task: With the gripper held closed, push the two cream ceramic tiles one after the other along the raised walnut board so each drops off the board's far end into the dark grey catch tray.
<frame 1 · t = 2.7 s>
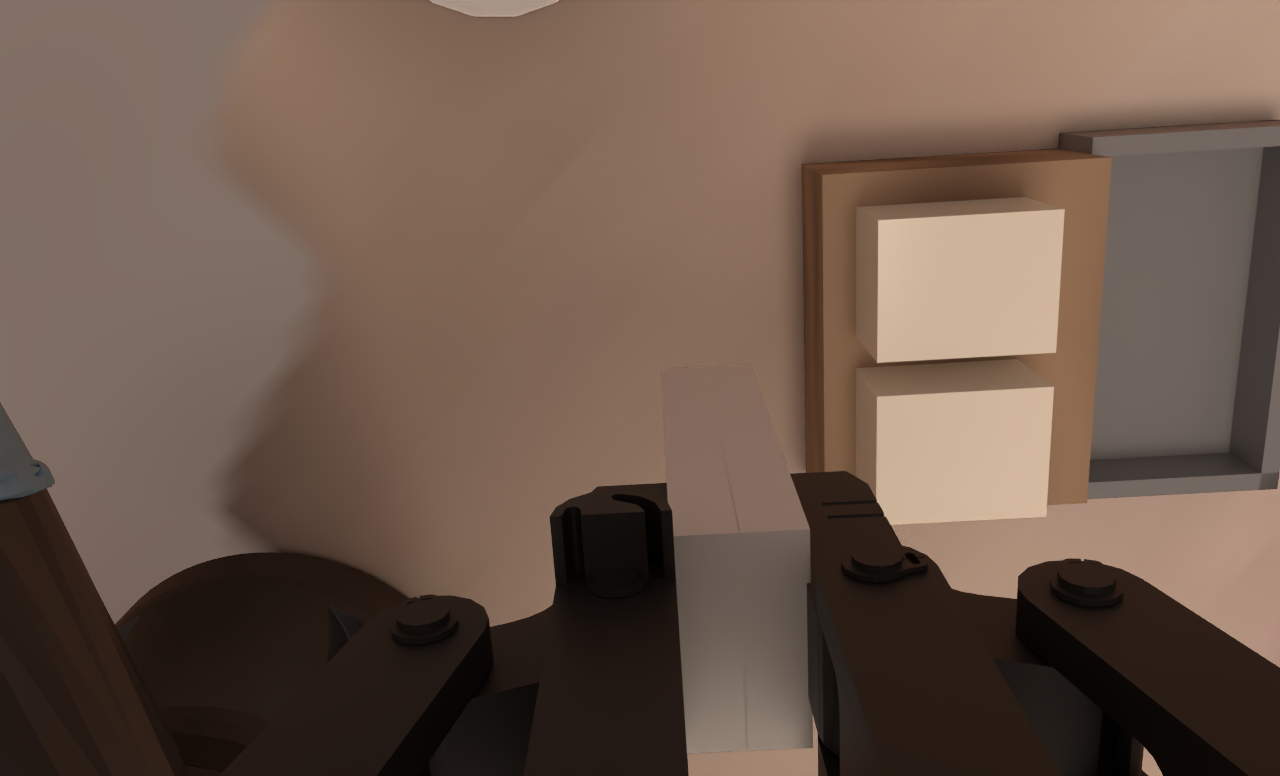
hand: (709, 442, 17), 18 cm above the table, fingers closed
tray: (1151, 304, 35), on the table
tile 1: (938, 268, 31), point 4 cm above the table, touching board
board: (926, 317, 35), on the table
tile 2: (934, 424, 32), point 4 cm above the table, touching board
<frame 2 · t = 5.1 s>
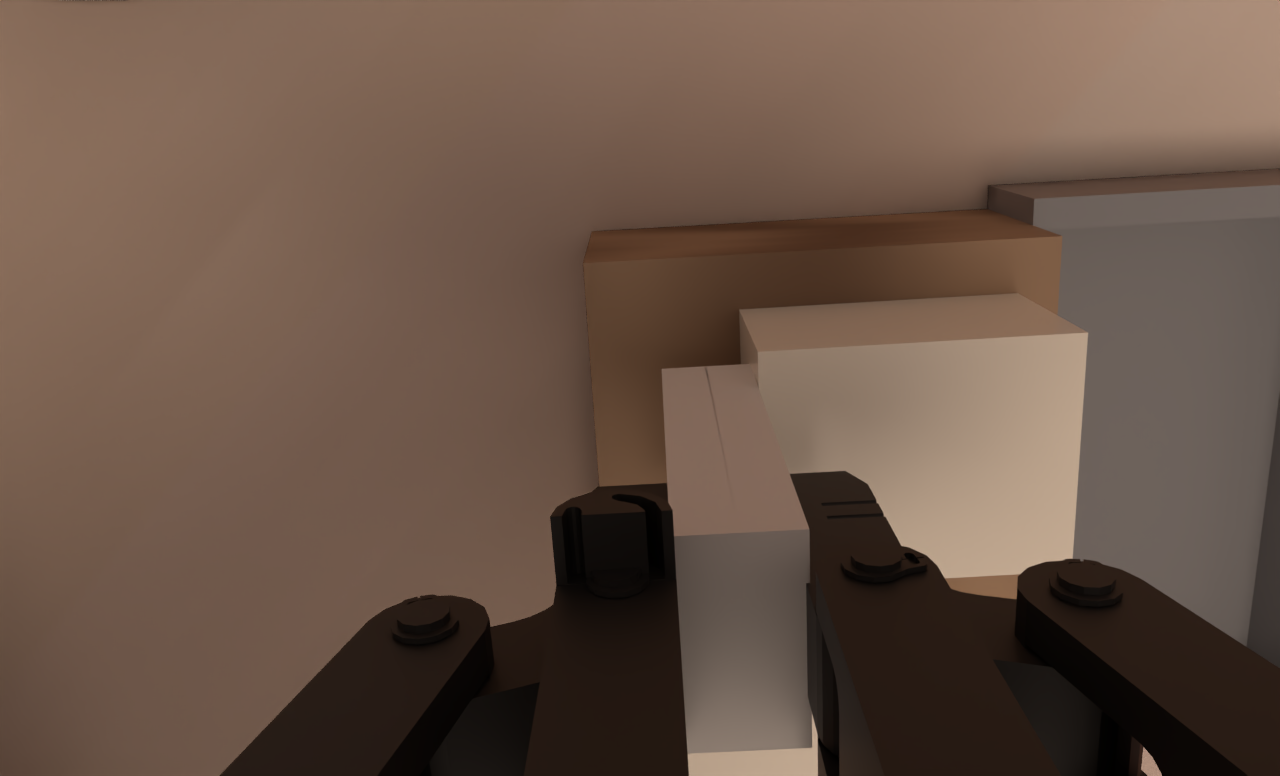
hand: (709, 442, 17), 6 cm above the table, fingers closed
tray: (1130, 441, 23), on the table
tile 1: (877, 407, 19), point 4 cm above the table
board: (792, 459, 23), on the table
tile 2: (786, 649, 20), point 4 cm above the table, touching board
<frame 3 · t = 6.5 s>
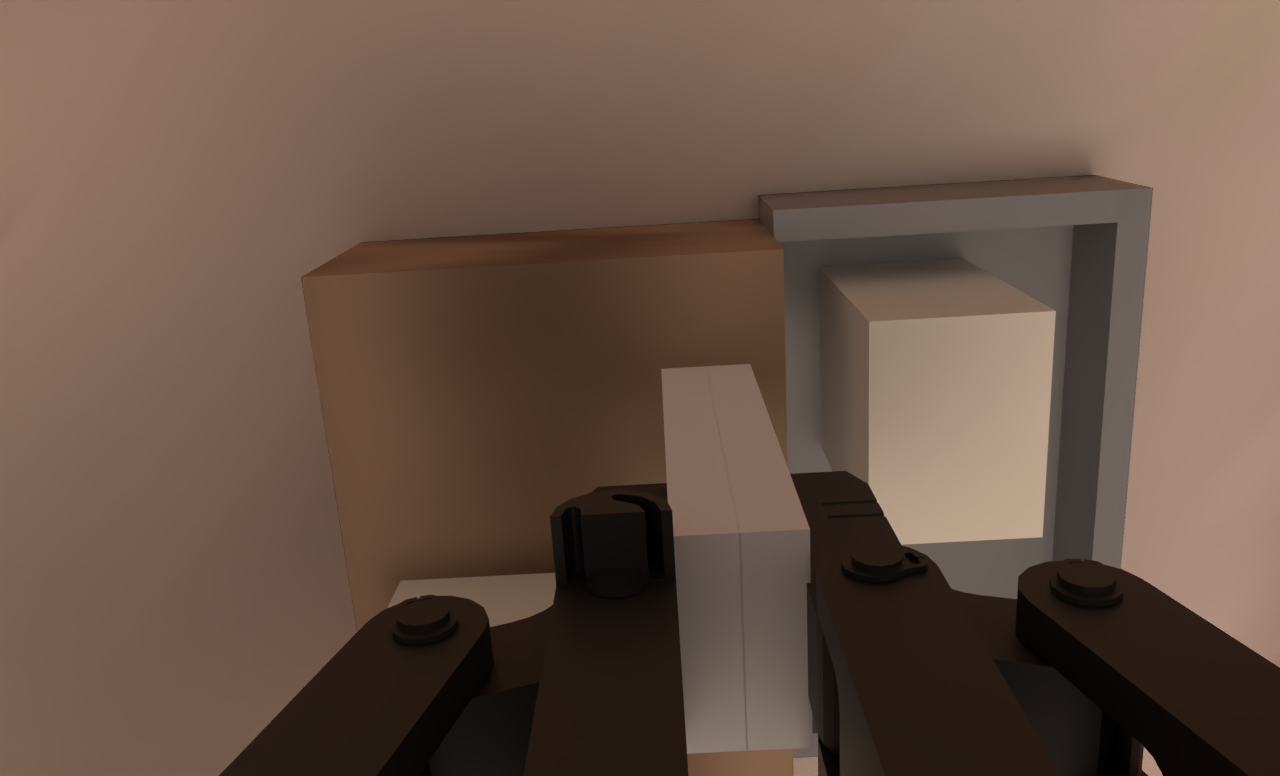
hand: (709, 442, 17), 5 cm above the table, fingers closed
tray: (919, 453, 23), on the table
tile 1: (841, 393, 19), point 3 cm above the table, tilted 90°, touching tray
board: (579, 471, 23), on the table
tile 2: (538, 665, 20), point 4 cm above the table, touching board
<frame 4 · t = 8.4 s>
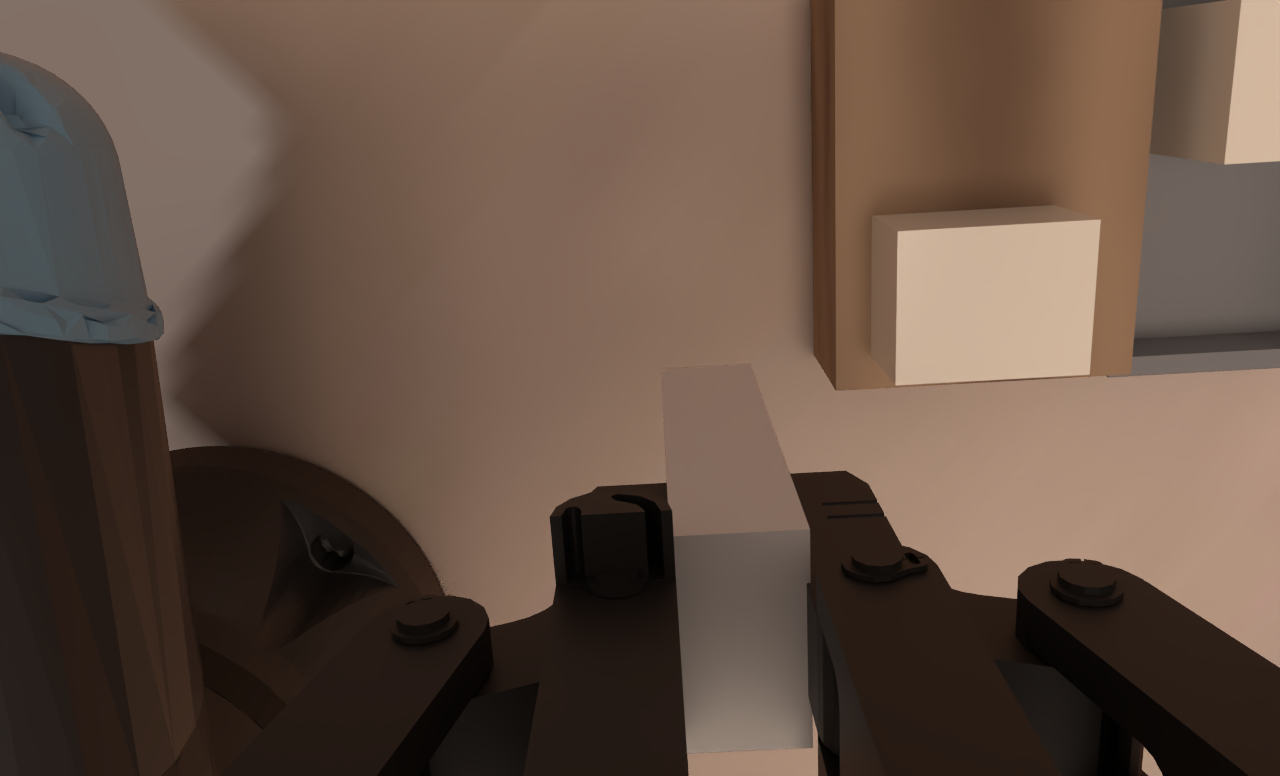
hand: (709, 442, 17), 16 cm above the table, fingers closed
tray: (1200, 162, 32), on the table
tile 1: (1182, 82, 28), point 3 cm above the table, tilted 90°, touching tray
board: (949, 176, 32), on the table
tile 2: (960, 281, 29), point 4 cm above the table, touching board
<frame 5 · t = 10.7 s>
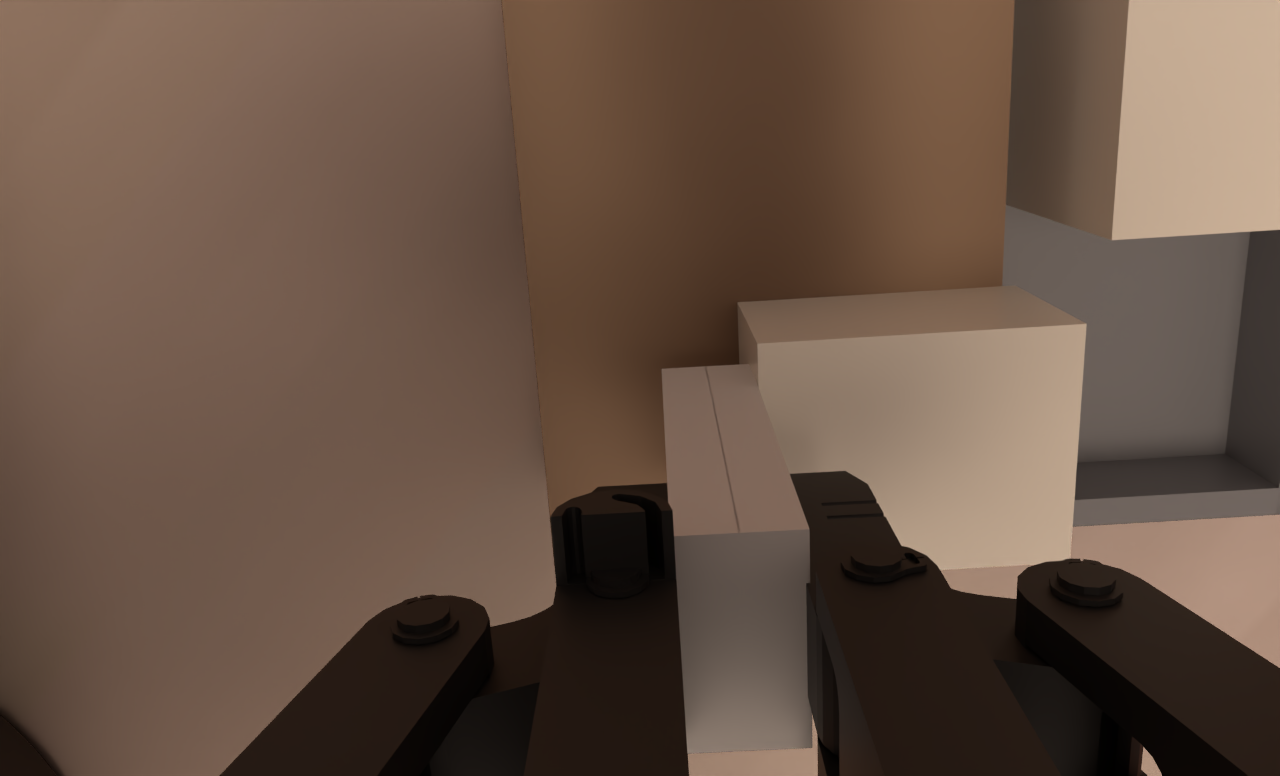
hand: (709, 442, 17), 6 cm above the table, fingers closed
tray: (1101, 217, 22), on the table
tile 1: (1056, 108, 18), point 3 cm above the table, tilted 90°, touching tray
board: (742, 239, 22), on the table
tile 2: (875, 399, 19), point 4 cm above the table, touching board, gripper
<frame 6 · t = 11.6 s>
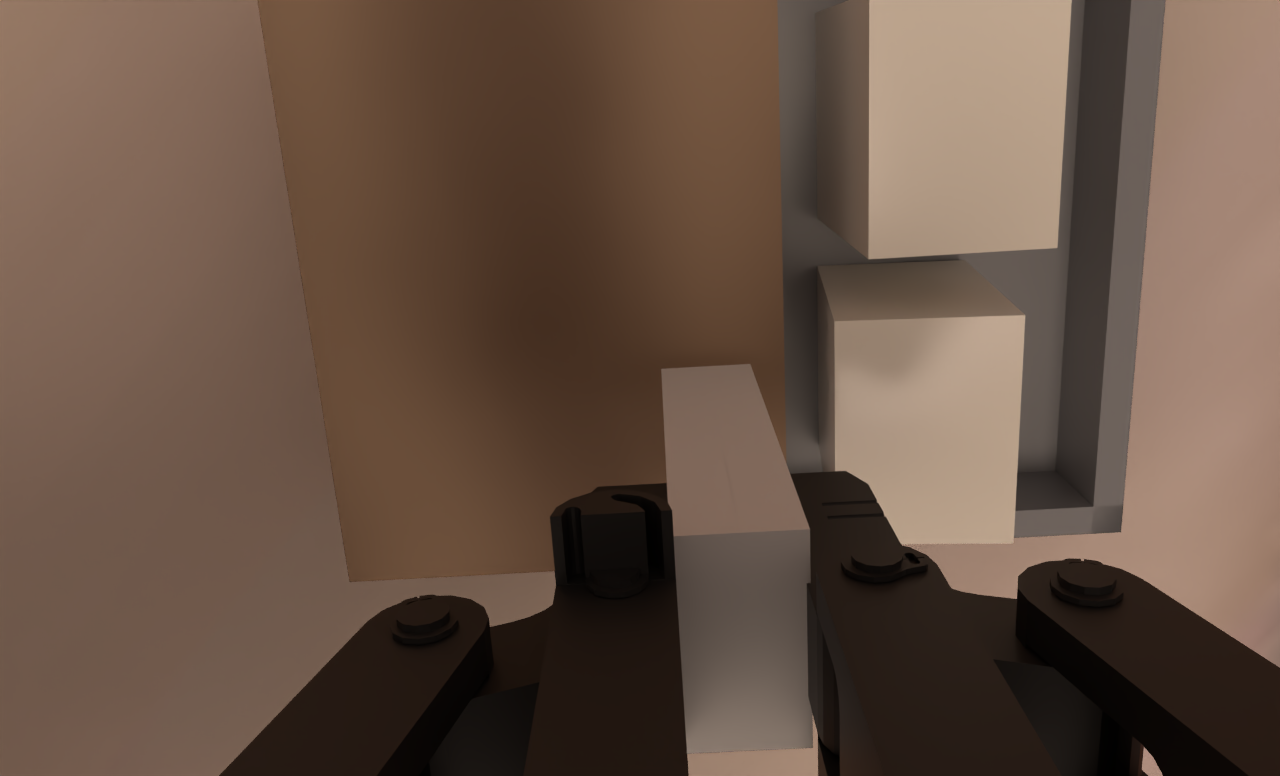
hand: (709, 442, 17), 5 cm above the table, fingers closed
tray: (922, 231, 22), on the table
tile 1: (839, 123, 18), point 3 cm above the table, tilted 90°, touching tray
board: (560, 253, 22), on the table
tile 2: (825, 392, 20), point 3 cm above the table, tilted 84°, touching tray
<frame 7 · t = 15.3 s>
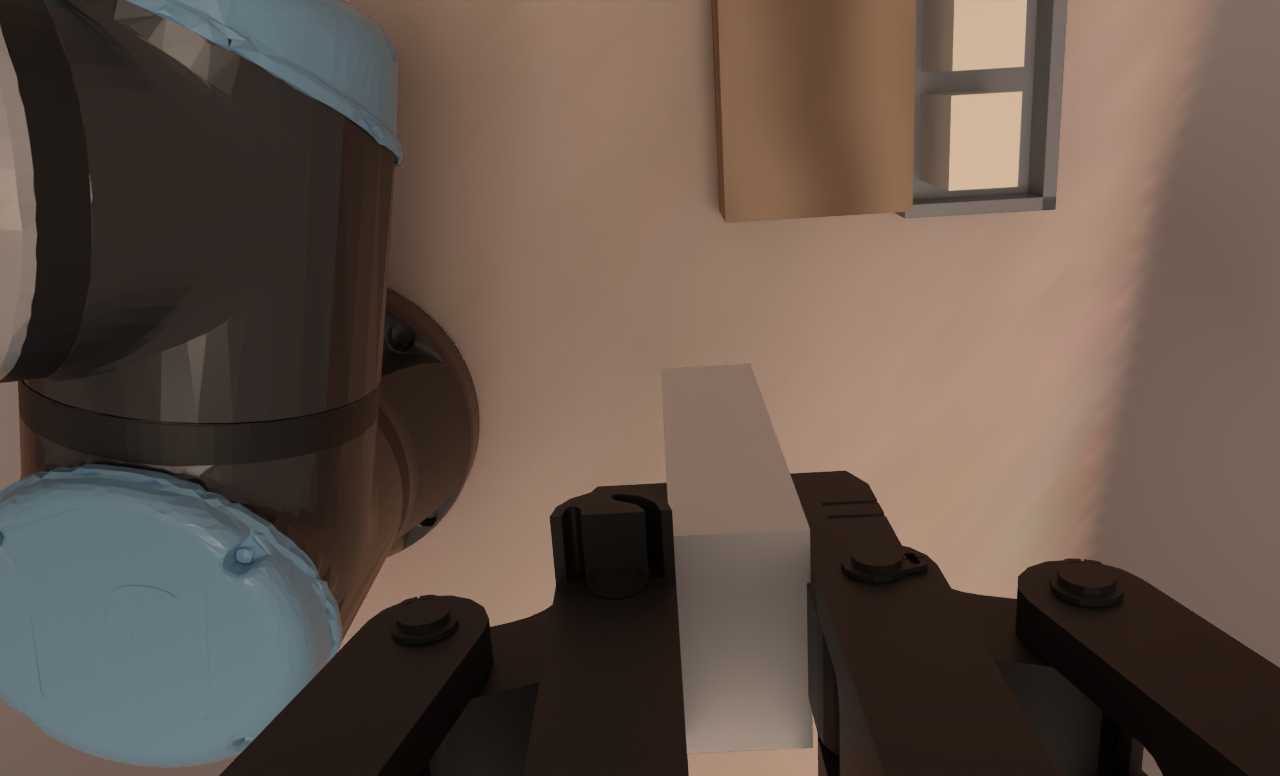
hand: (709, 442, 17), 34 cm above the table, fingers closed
tray: (967, 80, 48), on the table
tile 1: (937, 24, 45), point 3 cm above the table, tilted 90°, touching tray
board: (804, 90, 49), on the table
tile 2: (934, 140, 46), point 3 cm above the table, tilted 90°, touching tray
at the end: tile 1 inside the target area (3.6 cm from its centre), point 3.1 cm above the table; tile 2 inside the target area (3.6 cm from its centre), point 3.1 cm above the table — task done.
